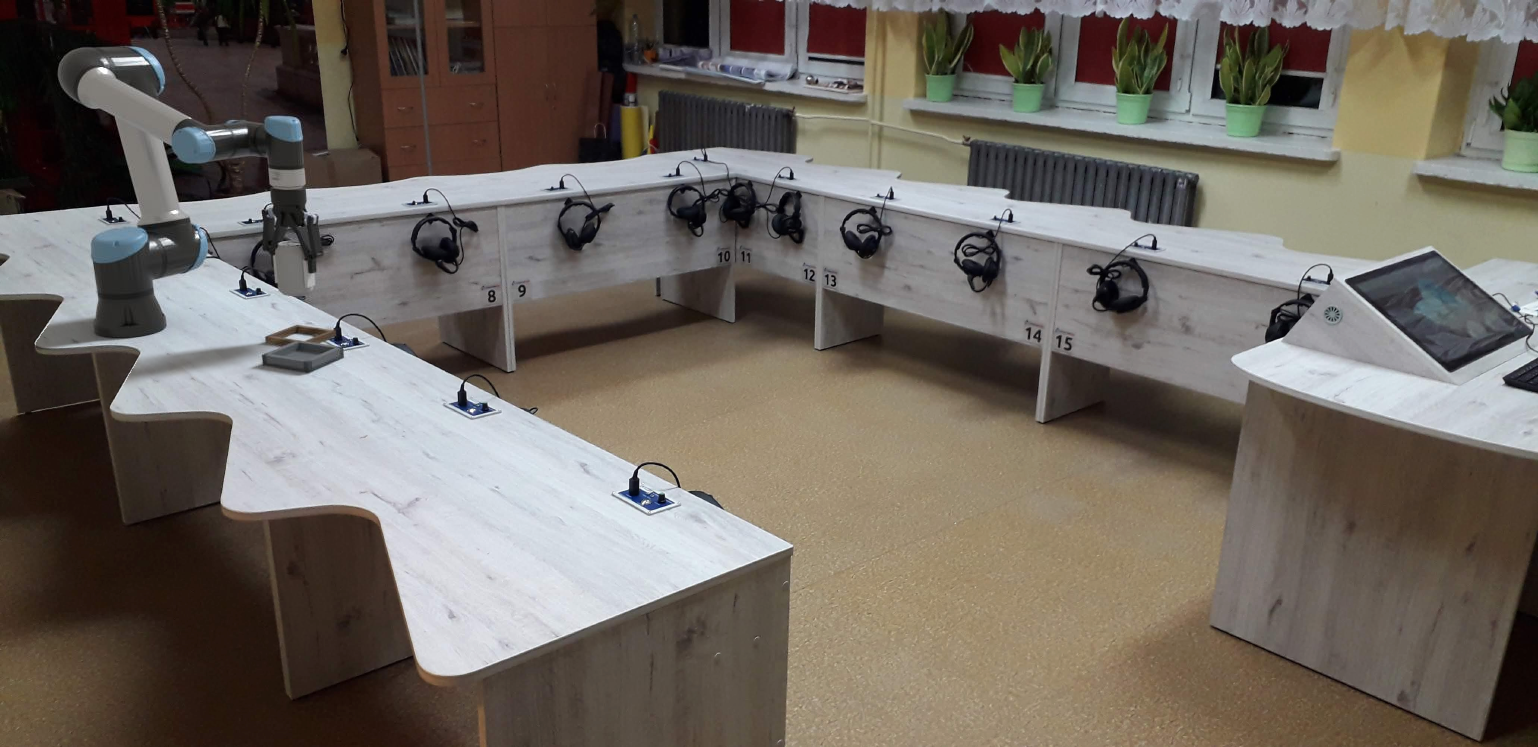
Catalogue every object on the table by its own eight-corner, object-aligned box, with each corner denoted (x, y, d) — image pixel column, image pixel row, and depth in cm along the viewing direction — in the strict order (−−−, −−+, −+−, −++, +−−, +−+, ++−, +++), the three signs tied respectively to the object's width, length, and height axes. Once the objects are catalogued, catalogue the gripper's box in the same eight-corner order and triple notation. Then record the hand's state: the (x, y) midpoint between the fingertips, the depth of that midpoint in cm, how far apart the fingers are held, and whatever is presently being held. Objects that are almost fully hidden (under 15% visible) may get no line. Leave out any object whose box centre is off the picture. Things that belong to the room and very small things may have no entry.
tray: (262, 365, 246) (261, 354, 245) (299, 350, 257) (298, 340, 256) (309, 373, 243) (308, 362, 242) (344, 357, 254) (343, 347, 253)
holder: (265, 342, 261) (265, 336, 260) (297, 330, 271) (296, 324, 270) (305, 349, 258) (305, 342, 258) (336, 336, 268) (335, 330, 268)
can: (301, 298, 257) (297, 247, 253) (271, 295, 258) (267, 244, 254) (319, 291, 264) (316, 241, 260) (291, 287, 265) (287, 238, 261)
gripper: (238, 183, 252) (247, 281, 259) (315, 194, 247) (321, 293, 254) (261, 179, 259) (269, 274, 266) (336, 189, 254) (342, 286, 261)
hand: (295, 283), depth 260 cm, fingers closed on can, 7 cm apart
